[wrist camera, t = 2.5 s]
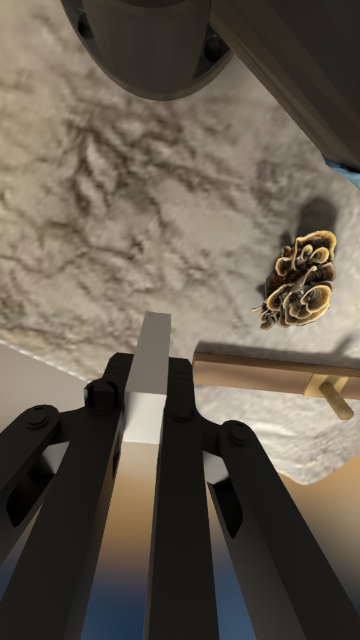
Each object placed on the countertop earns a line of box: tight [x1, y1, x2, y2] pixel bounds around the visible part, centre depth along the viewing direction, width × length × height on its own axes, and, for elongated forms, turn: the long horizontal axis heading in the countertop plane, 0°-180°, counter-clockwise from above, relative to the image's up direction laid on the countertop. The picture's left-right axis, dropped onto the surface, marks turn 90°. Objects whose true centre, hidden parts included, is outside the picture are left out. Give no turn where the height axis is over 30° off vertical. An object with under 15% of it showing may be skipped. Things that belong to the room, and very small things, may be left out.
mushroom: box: [252, 230, 337, 330], centre depth 28 cm, size 12×8×4 cm, turn 161°
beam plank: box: [192, 352, 360, 420], centre depth 33 cm, size 4×30×7 cm, turn 82°
